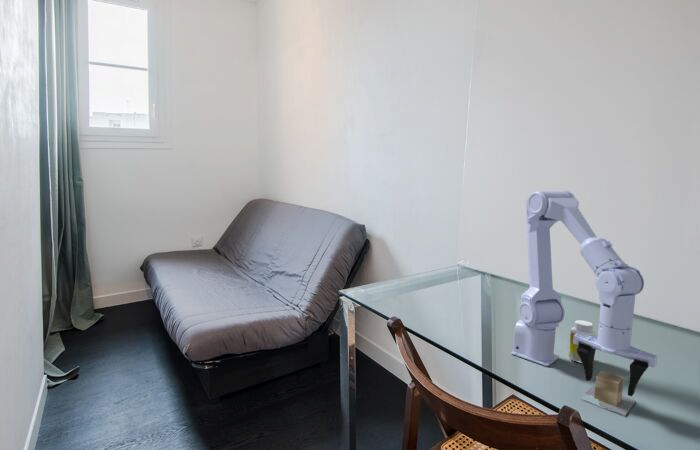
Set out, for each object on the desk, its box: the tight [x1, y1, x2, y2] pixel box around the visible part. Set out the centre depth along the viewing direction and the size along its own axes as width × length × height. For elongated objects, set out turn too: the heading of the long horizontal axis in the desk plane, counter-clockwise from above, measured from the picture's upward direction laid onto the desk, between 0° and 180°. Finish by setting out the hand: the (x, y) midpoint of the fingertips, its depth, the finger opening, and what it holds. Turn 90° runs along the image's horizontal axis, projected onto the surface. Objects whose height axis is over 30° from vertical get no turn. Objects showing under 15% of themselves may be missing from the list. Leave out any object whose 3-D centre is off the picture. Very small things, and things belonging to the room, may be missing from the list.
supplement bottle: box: [568, 319, 597, 362], centre depth 100 cm, size 6×6×10 cm
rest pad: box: [584, 385, 637, 417], centre depth 82 cm, size 8×8×1 cm
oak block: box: [594, 370, 625, 406], centre depth 82 cm, size 4×4×5 cm
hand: (609, 386), depth 81 cm, fingers open, 7 cm apart
